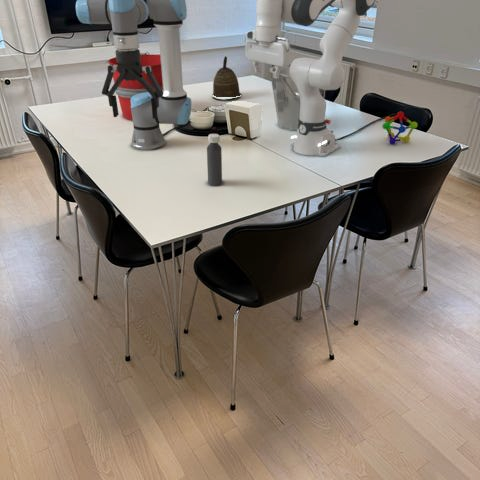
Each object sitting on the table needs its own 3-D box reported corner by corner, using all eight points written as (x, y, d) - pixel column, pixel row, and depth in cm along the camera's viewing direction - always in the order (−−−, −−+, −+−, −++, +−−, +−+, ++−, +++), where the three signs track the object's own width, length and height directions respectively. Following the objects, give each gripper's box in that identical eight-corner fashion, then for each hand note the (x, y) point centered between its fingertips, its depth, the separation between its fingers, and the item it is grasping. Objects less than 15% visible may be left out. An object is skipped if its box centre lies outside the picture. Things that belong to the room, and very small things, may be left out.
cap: (207, 139, 163) (206, 134, 162) (217, 138, 165) (217, 133, 163) (209, 143, 160) (209, 137, 159) (220, 142, 161) (220, 136, 160)
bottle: (206, 181, 173) (204, 135, 163) (219, 179, 174) (219, 133, 164) (210, 186, 168) (208, 139, 159) (223, 185, 170) (223, 138, 160)
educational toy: (377, 146, 209) (379, 114, 202) (384, 138, 219) (386, 107, 211) (411, 149, 202) (415, 116, 195) (417, 141, 212) (420, 109, 204)
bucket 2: (296, 138, 215) (301, 78, 201) (255, 124, 234) (256, 68, 219) (335, 125, 232) (342, 70, 217) (294, 113, 251) (297, 61, 236)
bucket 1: (122, 105, 263) (114, 51, 248) (180, 106, 263) (177, 52, 247) (105, 123, 234) (95, 63, 218) (171, 124, 233) (166, 64, 217)
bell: (227, 105, 294) (202, 96, 282) (238, 66, 289) (213, 55, 277) (243, 108, 280) (217, 98, 268) (255, 66, 275) (229, 55, 263)
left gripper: (84, 50, 136) (95, 118, 148) (163, 52, 134) (168, 121, 145) (93, 46, 143) (104, 112, 154) (169, 48, 140) (174, 114, 152)
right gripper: (296, 37, 150) (293, 79, 157) (255, 31, 163) (254, 70, 170) (283, 38, 147) (280, 82, 154) (242, 32, 160) (242, 72, 167)
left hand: (135, 116), depth 150 cm, fingers open, 13 cm apart
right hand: (266, 76), depth 162 cm, fingers open, 8 cm apart
